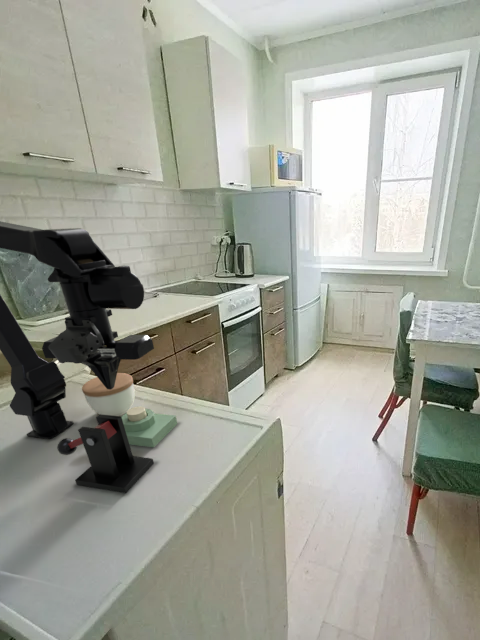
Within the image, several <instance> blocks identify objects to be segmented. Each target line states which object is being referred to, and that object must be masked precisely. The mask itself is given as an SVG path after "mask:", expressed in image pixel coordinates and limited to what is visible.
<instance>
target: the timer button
mask: <svg viewBox="0 0 480 640" xmlns="http://www.w3.org/2000/svg"><path fill="white" fill-rule="evenodd" d="M145 409H146V408H145V407H144V406H142V405H141V406H140V405H139V406H133V407H130V409H129V410H128V411H127V416H128V420H129V421H131V422H135V421H140V420H142V419H144V418H146V417H147V414H146V411H145Z"/></svg>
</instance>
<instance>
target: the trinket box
mask: <svg viewBox="0 0 480 640" xmlns="http://www.w3.org/2000/svg"><path fill="white" fill-rule="evenodd" d="M81 391H82V393H83V395H84V399H85V401H86V402H87V404H88V406H89V407H90V408H91V410H92V411H93V412H94V413H96V414H98V415H100V414H102V415H111V416H123V415H124V414H125V413H127V411H128V410H129V409H131V408H132V406H133V404H134V402H135V398H136V390H135V384H134V378H133V376H132V375H131V374H128V373H124V372H117V376H116V381H115V386H114V388H113V389H111V390H110V389H107V388H106V387H105V386H104V385H103V383H102V382H101V381H100V380H99V378H98V377H97V376H96V377H94V378H91V379H89V380H87V381H86V382H85V383H84V384H82V387H81Z"/></svg>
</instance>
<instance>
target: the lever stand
mask: <svg viewBox="0 0 480 640" xmlns="http://www.w3.org/2000/svg"><path fill="white" fill-rule="evenodd" d="M121 416H122V415H121ZM121 416H111V415H102V414H98V415H97V416H96V417H95V419H96V422H97V426H98V425H100V424H102V423H104V422H107V421H109V422H110V423H111V425H112V426H113V427H114V429H115V430H116V431H117V433H115V434H114V435H113V436H112V437H110V438H109V439H108V438H107V434H106V431H105V429H98V428H95V427H88V426H81V427H80V428H78V429H77V431H78V433H79V436H80V437H79V438H81V439H82V442H83V444H82V445H83V448H84V450H85V453H86V455H87V458H88V462H89V464H90V466H89V467H88V468H87V469H86V470H85V471H84V472H82V473H81V474H80V475H79V476H78V477H77V478H75V479H74V481H75V484H76V486H79V487H86V488H91V489H96V490H104V491H109V492H115V493H121V494H127V493H128V492H129V491H130V490H131V489H132V488H133V487H134V486H135V485H136V483H137V482H138V481H139V480H140V479H141V478H142V477H143V476H144V475H145V474H146V473H147V472H148V471H149V470H150V468H151V467H152V466H153V465H154V464H155V463H154V459H153V458H151V457H143V456H137V455H136V456H135V455H133V452H132V448H131V444H129V441H128V438H127V434H126V431H125V428H124V424H123V421H122V417H121Z"/></svg>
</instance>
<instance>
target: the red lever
mask: <svg viewBox="0 0 480 640" xmlns="http://www.w3.org/2000/svg"><path fill="white" fill-rule="evenodd" d="M94 428H98V429H105V431H106V434H107V438H108V439H109V438H110V437H112V436H113V435H114V434H115V433H117V431H116V430H115V429H114V427H113V426H112V425H111V423H110V422H109V421H107V422H104V423H102V424H100V425H98V424H97V425H96V426H95V427H94ZM81 445H83V442H82V439H81V437H78V438H76V439H73V438H70V437H65V438H62V439H61V440H59V441H58V443H57V446H56V449H57V452H58V453H59V454H61V455H62V456H69V455H72V454H74V453H75V451H76V450H77V449H78V448H77V447H78V446H81Z"/></svg>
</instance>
